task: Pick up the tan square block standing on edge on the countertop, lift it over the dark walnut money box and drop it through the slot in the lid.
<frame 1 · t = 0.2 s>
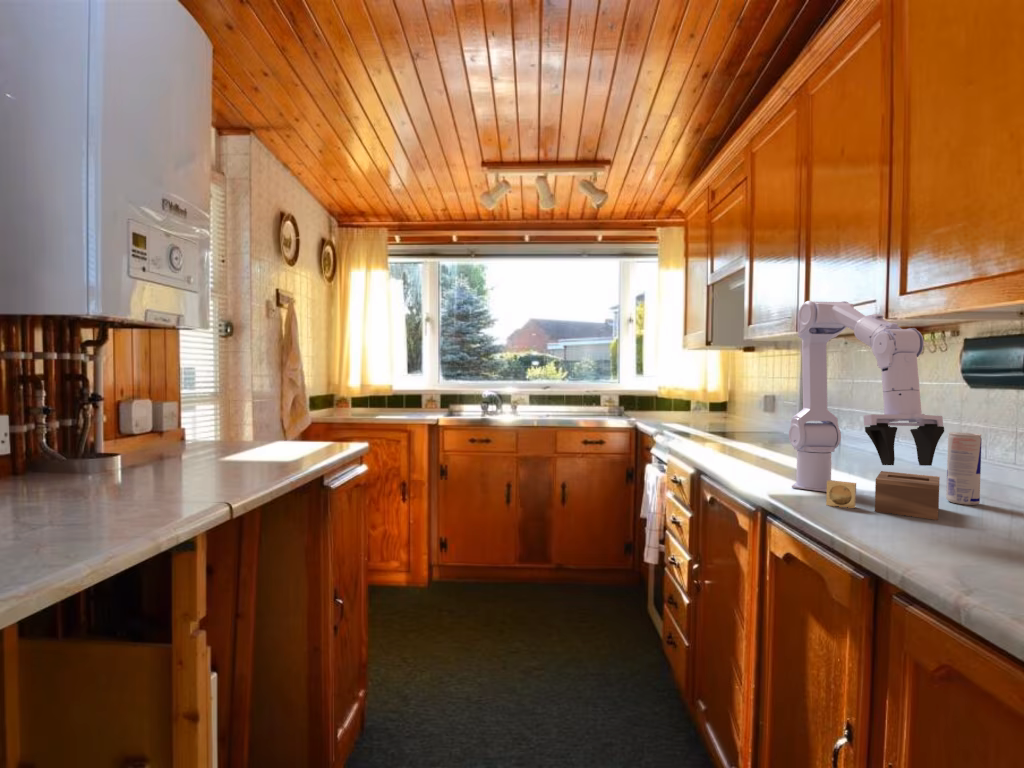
hand: (906, 465, 105), 10 cm above the worktop, tool pointing down, fingers open, 7 cm apart
tan square block: (840, 506, 117), on the worktop
money box: (907, 509, 115), on the worktop
white cylindrical canister: (962, 503, 122), on the worktop
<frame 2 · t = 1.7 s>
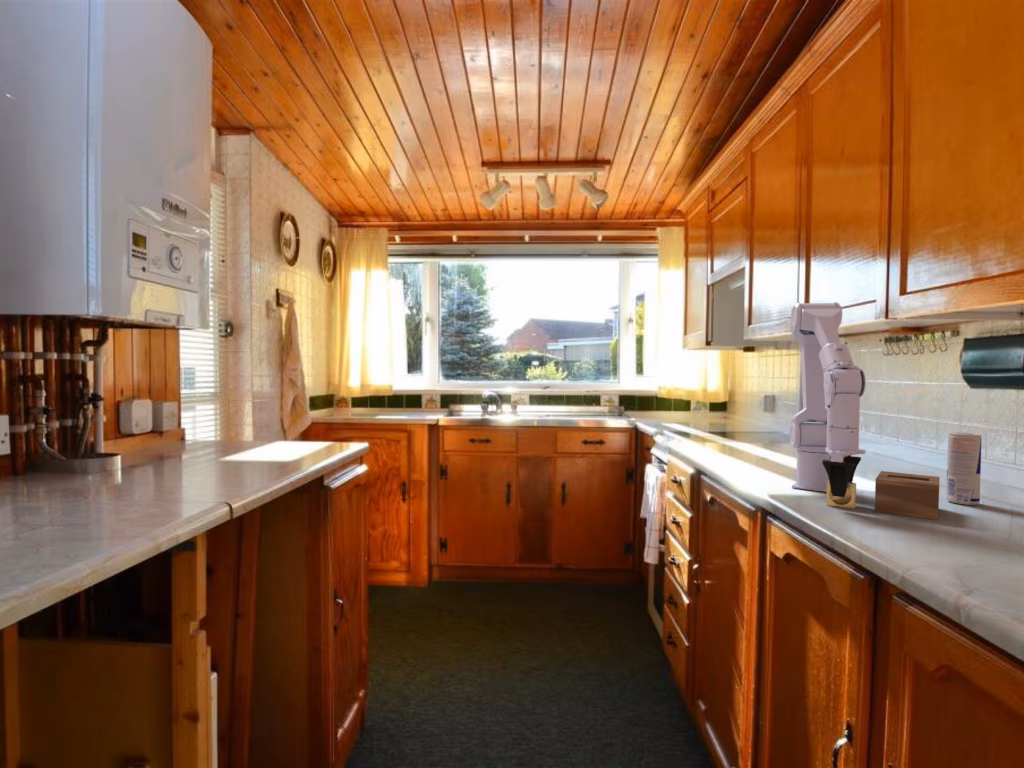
hand: (841, 493, 117), 3 cm above the worktop, tool pointing down, fingers open, 7 cm apart
nothing on the worktop moved.
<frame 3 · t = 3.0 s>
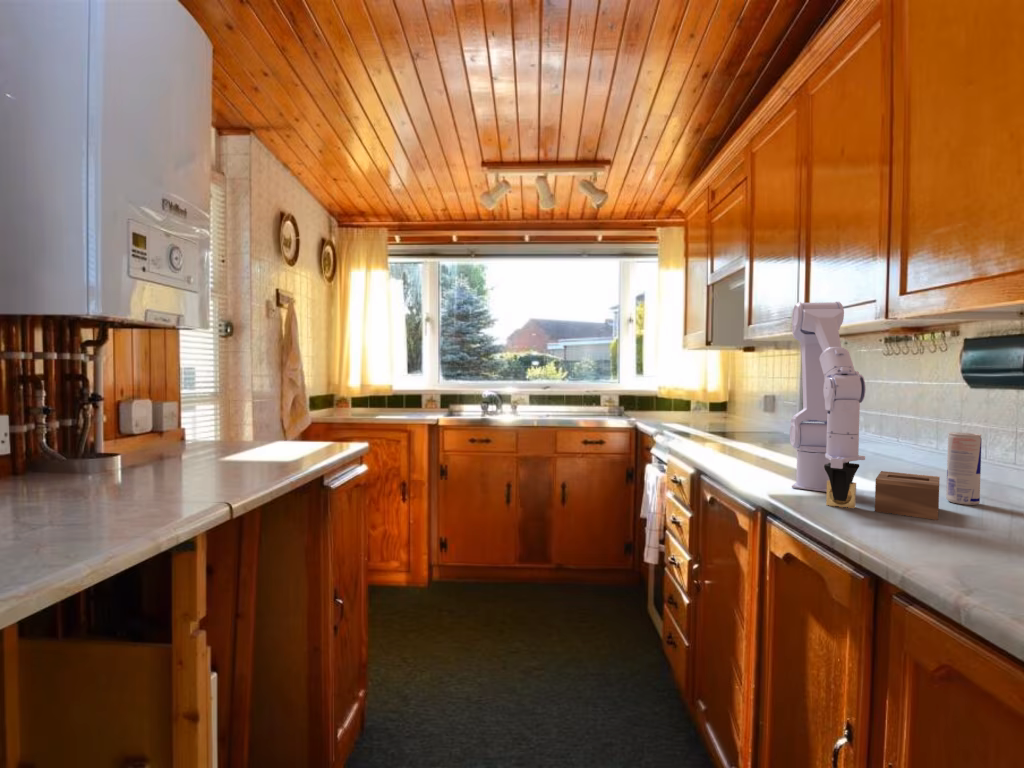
hand: (841, 499, 117), 1 cm above the worktop, tool pointing down, fingers closed on tan square block, 2 cm apart
tan square block: (840, 506, 117), on the worktop, touching gripper
everything else where it was.
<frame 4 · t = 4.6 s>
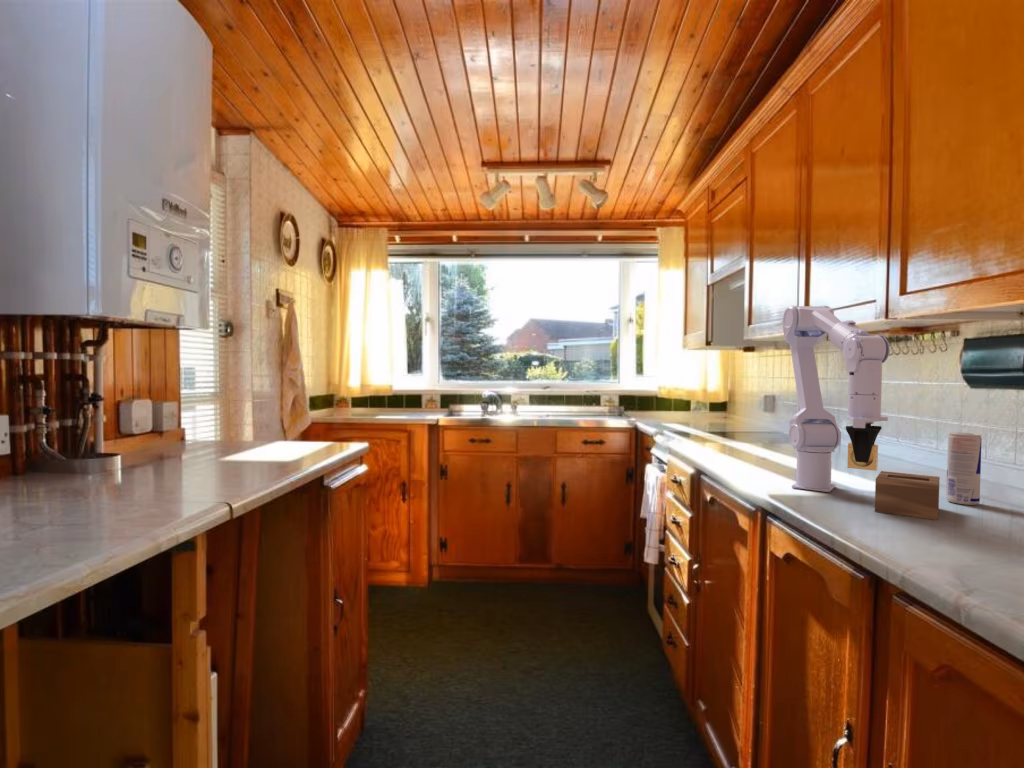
hand: (862, 461, 116), 9 cm above the worktop, tool pointing down, fingers closed on tan square block, 2 cm apart
tan square block: (862, 468, 116), point 8 cm above the worktop, touching gripper
everything else where it was.
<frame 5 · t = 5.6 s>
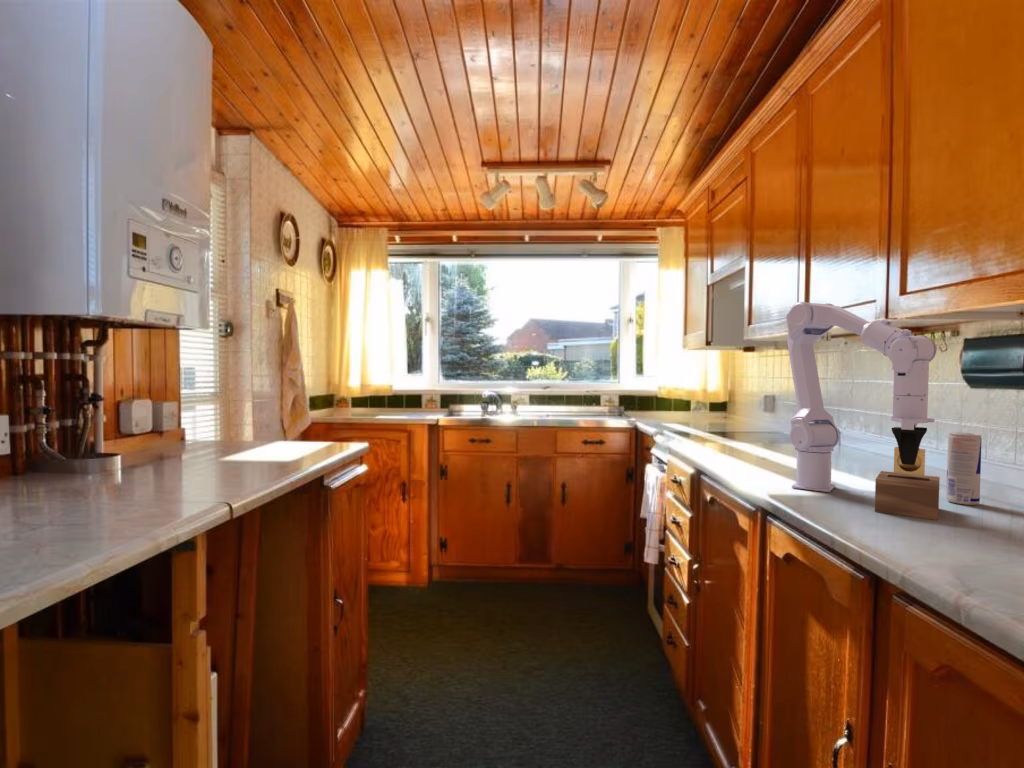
hand: (908, 463, 114), 9 cm above the worktop, tool pointing down, fingers closed on tan square block, 2 cm apart
tan square block: (909, 473, 114), point 7 cm above the worktop, touching gripper
everything else where it was.
when the fingers open (9 cm above the worktop, at t = 6.0 s): tan square block drops 7 cm, resting on money box.
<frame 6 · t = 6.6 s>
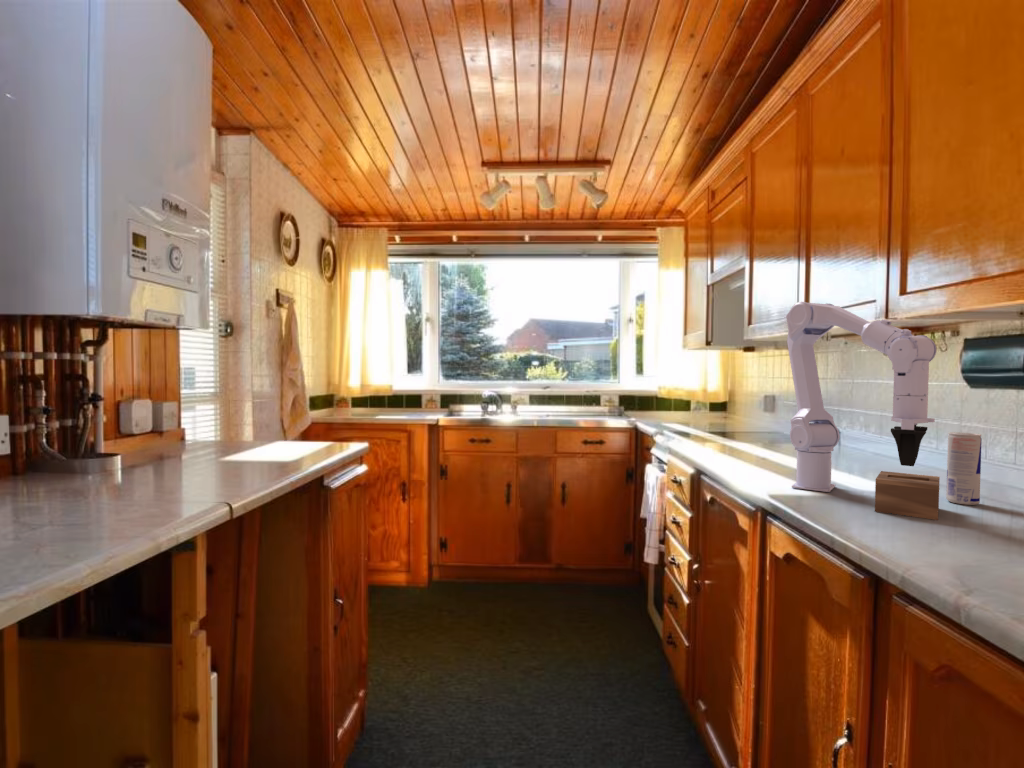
hand: (908, 463, 114), 9 cm above the worktop, tool pointing down, fingers open, 7 cm apart
tan square block: (907, 507, 114), point 1 cm above the worktop, touching money box
everything else where it was.
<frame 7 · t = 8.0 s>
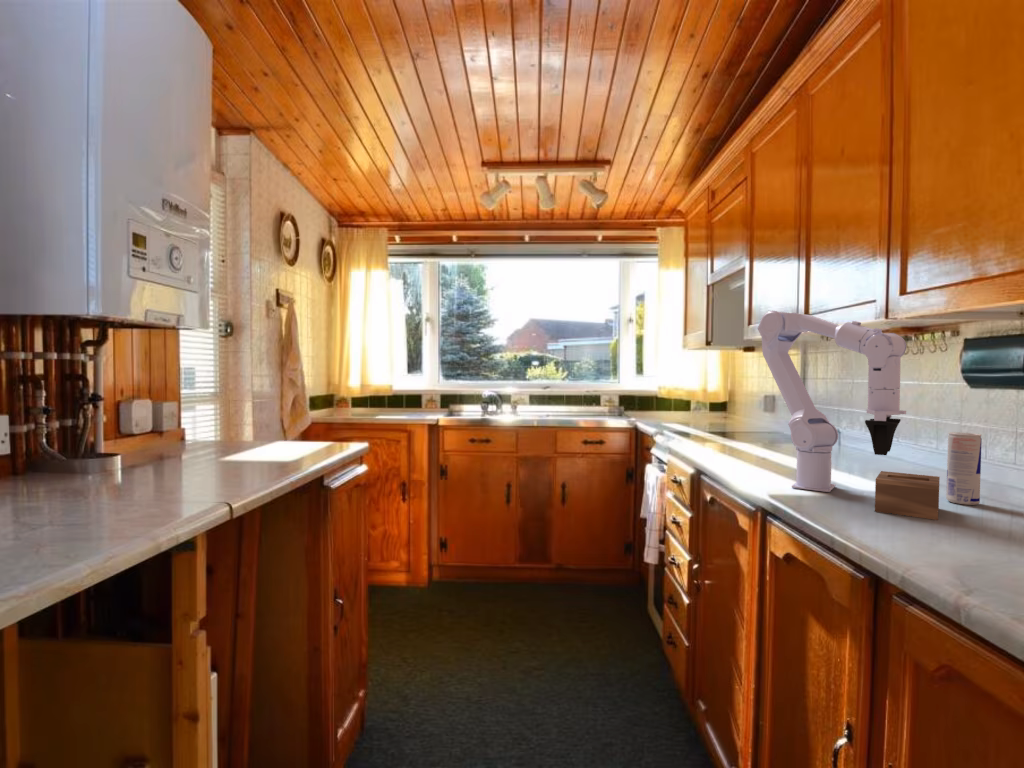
hand: (882, 452, 122), 10 cm above the worktop, tool pointing down, fingers open, 7 cm apart
nothing on the worktop moved.
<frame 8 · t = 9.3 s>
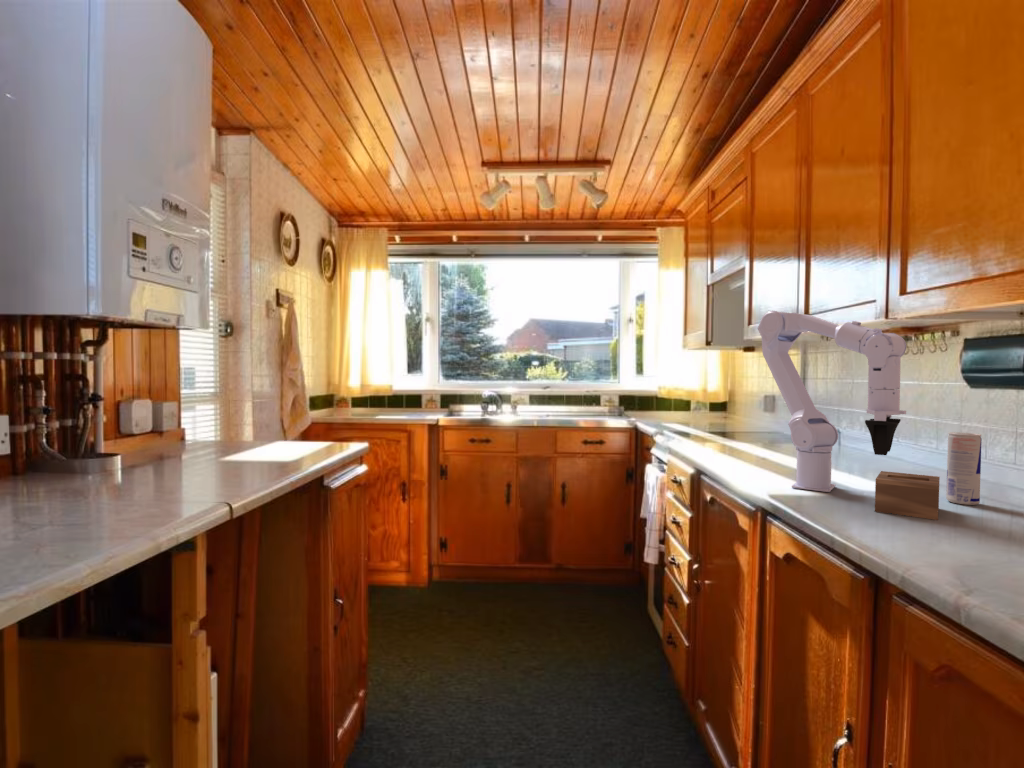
hand: (882, 452, 122), 10 cm above the worktop, tool pointing down, fingers open, 7 cm apart
nothing on the worktop moved.
at the end: tan square block inside the target area on the money box (0.1 cm from its centre), point 0.6 cm above the money box's base; the gripper is holding nothing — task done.
